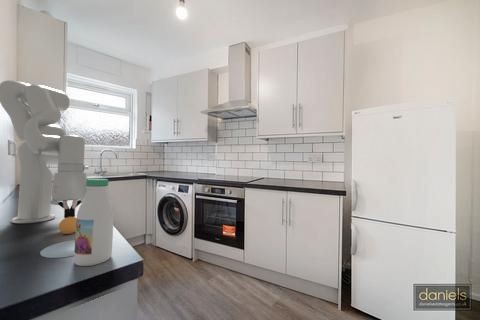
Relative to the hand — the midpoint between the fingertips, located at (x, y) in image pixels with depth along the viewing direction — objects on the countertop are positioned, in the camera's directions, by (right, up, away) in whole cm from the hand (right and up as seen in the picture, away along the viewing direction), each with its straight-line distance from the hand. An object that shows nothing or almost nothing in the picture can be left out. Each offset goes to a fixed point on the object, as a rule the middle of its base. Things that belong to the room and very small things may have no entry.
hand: (69, 219), depth 78 cm
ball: (+5, 0, -7) cm, 9 cm away
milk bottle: (+26, -3, -25) cm, 36 cm away
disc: (+15, -3, -18) cm, 24 cm away
